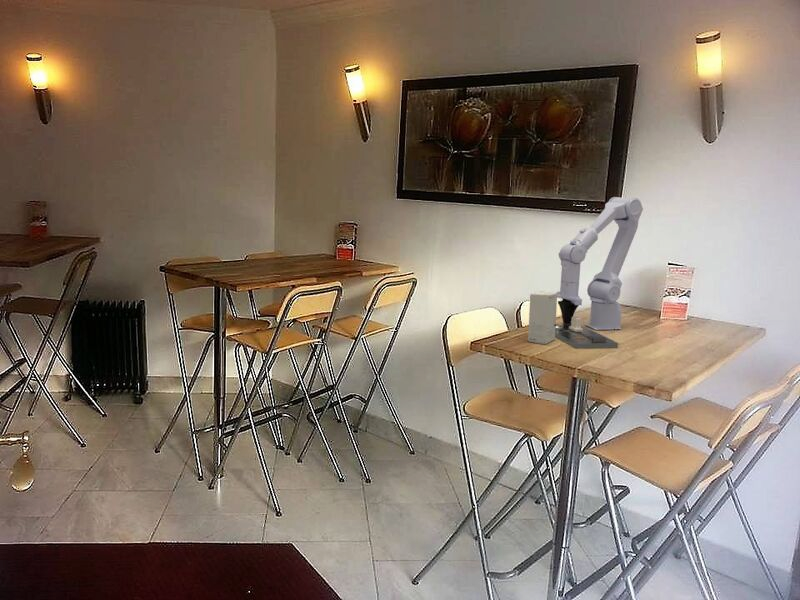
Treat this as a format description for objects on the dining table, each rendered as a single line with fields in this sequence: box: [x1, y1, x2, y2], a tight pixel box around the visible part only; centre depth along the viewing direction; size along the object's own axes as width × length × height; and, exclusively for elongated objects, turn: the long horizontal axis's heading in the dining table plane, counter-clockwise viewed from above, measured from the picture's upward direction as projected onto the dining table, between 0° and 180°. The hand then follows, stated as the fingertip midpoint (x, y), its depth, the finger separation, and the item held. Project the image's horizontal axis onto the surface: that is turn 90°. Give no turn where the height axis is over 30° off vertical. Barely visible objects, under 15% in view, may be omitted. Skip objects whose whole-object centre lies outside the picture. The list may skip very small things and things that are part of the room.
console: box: [555, 322, 619, 349], centre depth 184 cm, size 13×22×3 cm, turn 10°
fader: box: [569, 316, 583, 332], centre depth 188 cm, size 3×4×4 cm, turn 10°
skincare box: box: [527, 291, 558, 345], centre depth 179 cm, size 8×6×15 cm
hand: (566, 322), depth 195 cm, fingers closed
